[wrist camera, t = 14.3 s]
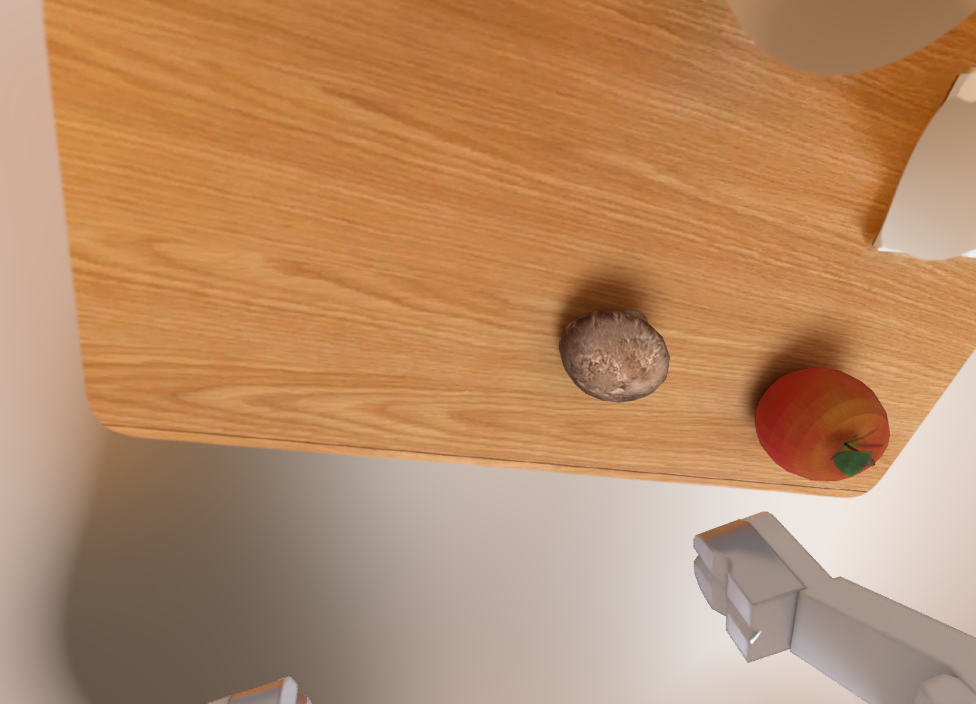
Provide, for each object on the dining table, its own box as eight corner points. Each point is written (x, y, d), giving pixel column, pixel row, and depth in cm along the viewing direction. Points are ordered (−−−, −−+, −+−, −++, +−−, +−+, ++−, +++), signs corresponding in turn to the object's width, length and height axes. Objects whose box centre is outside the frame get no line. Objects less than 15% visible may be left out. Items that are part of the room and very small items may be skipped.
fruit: (793, 445, 51) (880, 521, 43) (718, 431, 48) (796, 510, 40) (851, 362, 48) (959, 427, 39) (774, 341, 44) (873, 407, 36)
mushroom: (689, 296, 36) (682, 363, 33) (658, 365, 43) (649, 428, 39) (577, 270, 38) (557, 332, 34) (563, 341, 44) (545, 400, 40)
